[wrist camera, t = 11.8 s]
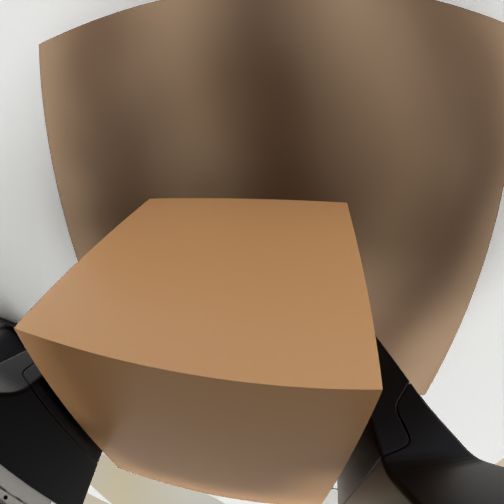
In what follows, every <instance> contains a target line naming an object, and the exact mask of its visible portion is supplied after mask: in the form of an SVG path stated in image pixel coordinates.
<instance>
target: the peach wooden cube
mask: <svg viewBox="0 0 504 504" xmlns="http://www.w3.org/2000/svg"><path fill="white" fill-rule="evenodd" d="M14 329H15V331H16V333H17V335H18V336H19V338H20V340H21V342H22V343H23V345H24V347H25V348H26V350H27V352H28V353H29V355H30V356H31V358H32V360H33V361H34V363H35V364H36V366H37V367H38V369H39V371H40V372H41V374H42V375H43V377H44V378H45V379H46V381H47V382H48V384H49V385H50V387H51V388H52V389H53V391H54V392H55V394H56V395H57V396H58V398H59V399H60V400H61V402H62V403H63V404H64V406H65V407H66V408H67V410H68V411H69V412H70V413H71V415H72V416H73V417H74V418H75V420H76V421H77V422H78V423H79V425H80V426H81V427H82V428H83V429H84V431H85V432H86V433H87V434H88V435H89V436H90V438H91V439H92V440H93V441H94V442H95V443H96V444H97V445H98V447H99V448H100V449H101V450H102V451H103V452H104V453H105V454H106V455H107V456H108V457H109V458H110V459H111V460H112V462H114V463H115V464H116V466H117V467H118V468H120V469H123V470H126V471H129V472H132V473H135V474H138V475H140V476H144V477H147V478H150V479H153V480H156V481H160V482H163V483H167V484H170V485H174V486H178V487H182V488H185V489H190V490H194V491H198V492H203V493H207V494H212V495H217V496H222V497H228V498H234V499H240V500H247V501H254V502H262V503H270V504H322V503H323V502H324V500H325V498H326V497H327V495H328V494H329V492H330V490H331V489H332V487H333V486H334V484H335V482H336V481H337V479H338V477H339V475H340V474H341V472H342V470H343V469H344V467H345V465H346V463H347V461H348V460H349V458H350V456H351V454H352V452H353V450H354V449H355V447H356V445H357V443H358V441H359V439H360V437H361V435H362V433H363V431H364V429H365V427H366V425H367V423H368V421H369V419H370V417H371V414H372V412H373V410H374V408H375V406H376V404H377V401H378V399H379V397H380V395H381V392H382V390H383V387H382V379H381V371H380V364H379V356H378V350H377V343H376V336H375V330H374V324H373V318H372V313H371V307H370V302H369V297H368V291H367V286H366V281H365V276H364V272H363V267H362V262H361V258H360V253H359V249H358V245H357V240H356V236H355V232H354V228H353V224H352V220H351V216H350V212H349V208H348V204H347V203H344V202H326V201H304V200H277V199H233V198H157V199H149V200H148V201H146V202H145V203H144V204H143V205H141V206H140V207H139V208H138V209H137V210H136V211H134V212H133V213H132V214H131V215H130V216H128V217H127V218H126V219H125V220H124V221H123V222H121V223H120V224H119V225H118V226H117V227H116V228H115V229H113V230H112V231H111V232H110V233H109V234H108V235H107V236H105V237H104V238H103V239H102V240H101V241H100V242H99V243H98V244H97V245H95V246H94V247H93V248H92V249H91V250H90V251H89V252H88V253H87V254H86V255H85V256H84V257H83V258H81V259H80V260H79V261H78V262H77V263H76V264H75V265H74V266H73V267H72V268H71V269H70V270H69V271H68V272H67V273H66V274H65V275H64V276H63V277H62V278H61V279H60V280H59V281H58V282H57V283H56V284H55V285H54V286H53V287H52V288H51V289H50V290H49V291H48V292H47V293H46V294H45V295H44V296H43V297H42V298H41V299H40V300H39V301H38V302H37V303H36V304H35V305H34V306H33V307H32V308H31V310H30V311H29V312H28V313H27V314H26V315H25V316H24V317H23V318H22V319H21V320H20V321H19V323H18V324H17V325H16V326H15V327H14Z"/></svg>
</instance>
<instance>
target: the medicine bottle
mask: <svg viewBox="0 0 504 504" xmlns="http://www.w3.org/2000/svg"><path fill="white" fill-rule="evenodd" d="M322 504H338V490H337V489H331V490H330V492H329V494H328V495H327V497H326V498H325V500H324V502H323V503H322Z"/></svg>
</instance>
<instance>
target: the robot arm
mask: <svg viewBox="0 0 504 504" xmlns="http://www.w3.org/2000/svg"><path fill="white" fill-rule="evenodd" d="M15 326H16V324H13V323H10V322H8V321H5V320H2V319H0V504H50V503H51V501H52V502H54V503H55V504H83V502H84V499H85V496H86V494H87V491H88V488H89V485H90V483H91V480H92V477H93V475H94V472H95V469H96V467H97V462H98V461H99V458H100V456H101V453H102V450H101V449H100V448H99V447H98V445H97V444H96V443H95V442H94V441H93V440H92V439H91V438H90V436H89V435H88V434H87V433H86V432H85V431H84V429H83V428H82V427H81V426H80V425H79V423H78V422H77V421H76V420H75V418H74V417H73V416H72V415H71V413H70V412H69V411H68V410H67V408H66V407H65V406H64V404H63V403H62V402H61V400H60V399H59V398H58V396H57V395H56V394H55V392H54V391H53V389H52V388H51V387H50V385H49V384H48V382H47V381H46V379H45V378H44V377H43V375H42V374H41V372H40V371H39V369H38V367H37V366H36V364H35V363H34V361H33V360H32V358H31V356H30V355H29V353H28V352H27V350H26V348H25V347H24V345H23V343H22V342H21V340H20V338H19V336H18V335H17V333H16V331H15V329H14V327H15ZM375 336H376V335H375ZM376 343H377V350H378V356H379V364H380V371H381V379H382V387H383V390H382V392H381V395H380V397H379V399H378V401H377V404H376V406H375V408H374V410H373V412H372V414H371V417H370V419H369V421H368V423H367V425H366V427H365V429H364V431H363V433H362V435H361V437H360V439H359V441H358V443H357V445H356V447H355V449H354V450H353V452H352V454H351V456H350V458H349V460H348V461H347V463H346V465H345V467H344V469H343V470H342V472H341V474H340V475H339V477H338V479H337V483H338V504H504V467H501V466H498V465H495V464H491V463H488V462H485V461H482V460H480V459H478V458H477V457H475V456H474V455H473V454H471V453H470V452H469V451H468V450H467V449H466V448H465V447H464V446H463V445H462V444H461V442H460V441H459V440H458V439H457V438H456V437H455V436H454V435H453V433H452V432H451V431H450V430H449V429H448V428H447V427H446V426H445V425H444V423H443V422H442V421H441V420H440V419H439V418H438V417H437V416H436V414H435V413H434V412H433V411H432V410H431V409H430V407H429V406H428V405H427V404H426V402H425V401H424V400H423V398H422V397H421V396H420V395H419V393H418V392H417V391H416V389H415V388H414V386H413V385H412V384H411V383H410V381H409V380H408V378H407V377H406V376H405V374H404V373H403V371H402V370H401V369H400V367H399V366H398V365H397V363H396V362H395V361H394V359H393V358H392V357H391V355H390V354H389V353H388V351H387V350H386V349H385V347H384V346H383V345H382V343H381V342H380V341H379V339H378V338H377V337H376ZM409 383H410V384H409Z"/></svg>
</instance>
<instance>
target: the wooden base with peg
mask: <svg viewBox="0 0 504 504" xmlns="http://www.w3.org/2000/svg"><path fill="white" fill-rule="evenodd" d="M39 59H40V75H41V88H42V98H43V107H44V115H45V122H46V129H47V136H48V142H49V148H50V153H51V159H52V164H53V169H54V174H55V178H56V183H57V187H58V192H59V196H60V200H61V204H62V208H63V212H64V216H65V219H66V223H67V227H68V230H69V234H70V237H71V241H72V244H73V247H74V250H75V254H76V257H77V260H78V261H79V260H80V259H81V258H83V257H84V256H85V255H86V254H87V253H88V252H89V251H90V250H91V249H92V248H93V247H94V246H95V245H97V244H98V243H99V242H100V241H101V240H102V239H103V238H104V237H105V236H107V235H108V234H109V233H110V232H111V231H112V230H113V229H115V228H116V227H117V226H118V225H119V224H120V223H121V222H123V221H124V220H125V219H126V218H127V217H128V216H130V215H131V214H132V213H133V212H134V211H136V210H137V209H138V208H139V207H140V206H141V205H143V204H144V203H145V202H146V201H148V200H149V199H157V198H233V199H277V200H304V201H326V202H344V203H347V204H348V208H349V212H350V216H351V220H352V224H353V228H354V232H355V236H356V240H357V245H358V249H359V253H360V258H361V262H362V267H363V272H364V276H365V281H366V286H367V291H368V297H369V302H370V307H371V313H372V318H373V324H374V330H375V335H376V337H377V338H378V339H379V341H380V342H381V343H382V345H383V346H384V347H385V349H386V350H387V351H388V353H389V354H390V355H391V357H392V358H393V359H394V361H395V362H396V363H397V365H398V366H399V367H400V369H401V370H402V371H403V373H404V374H405V376H406V377H407V378H408V380H409V381H410V383H411V384H412V385H413V386H414V388H415V389H416V391H417V392H418V393H419V395H425V394H426V392H427V390H428V388H429V387H430V385H431V383H432V381H433V379H434V378H435V376H436V374H437V372H438V370H439V368H440V366H441V364H442V362H443V360H444V358H445V356H446V354H447V352H448V350H449V348H450V346H451V344H452V342H453V340H454V337H455V335H456V333H457V331H458V329H459V326H460V324H461V322H462V319H463V317H464V315H465V312H466V310H467V307H468V305H469V302H470V300H471V297H472V295H473V292H474V289H475V286H476V284H477V281H478V278H479V275H480V272H481V269H482V266H483V263H484V260H485V257H486V254H487V250H488V247H489V244H490V240H491V237H492V233H493V229H494V226H495V222H496V218H497V213H498V209H499V205H500V200H501V196H502V191H503V186H504V23H503V22H501V21H498V20H496V19H493V18H490V17H488V16H485V15H482V14H479V13H476V12H473V11H470V10H467V9H464V8H461V7H458V6H454V5H451V4H447V3H444V2H440V1H436V0H159V1H155V2H151V3H148V4H144V5H140V6H137V7H133V8H130V9H127V10H123V11H120V12H117V13H114V14H111V15H108V16H105V17H102V18H100V19H97V20H94V21H92V22H89V23H86V24H84V25H81V26H79V27H76V28H74V29H72V30H69V31H67V32H65V33H62V34H60V35H58V36H56V37H54V38H51V39H49V40H47V41H45V42H43V43H41V44H39ZM410 383H409V384H410Z"/></svg>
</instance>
